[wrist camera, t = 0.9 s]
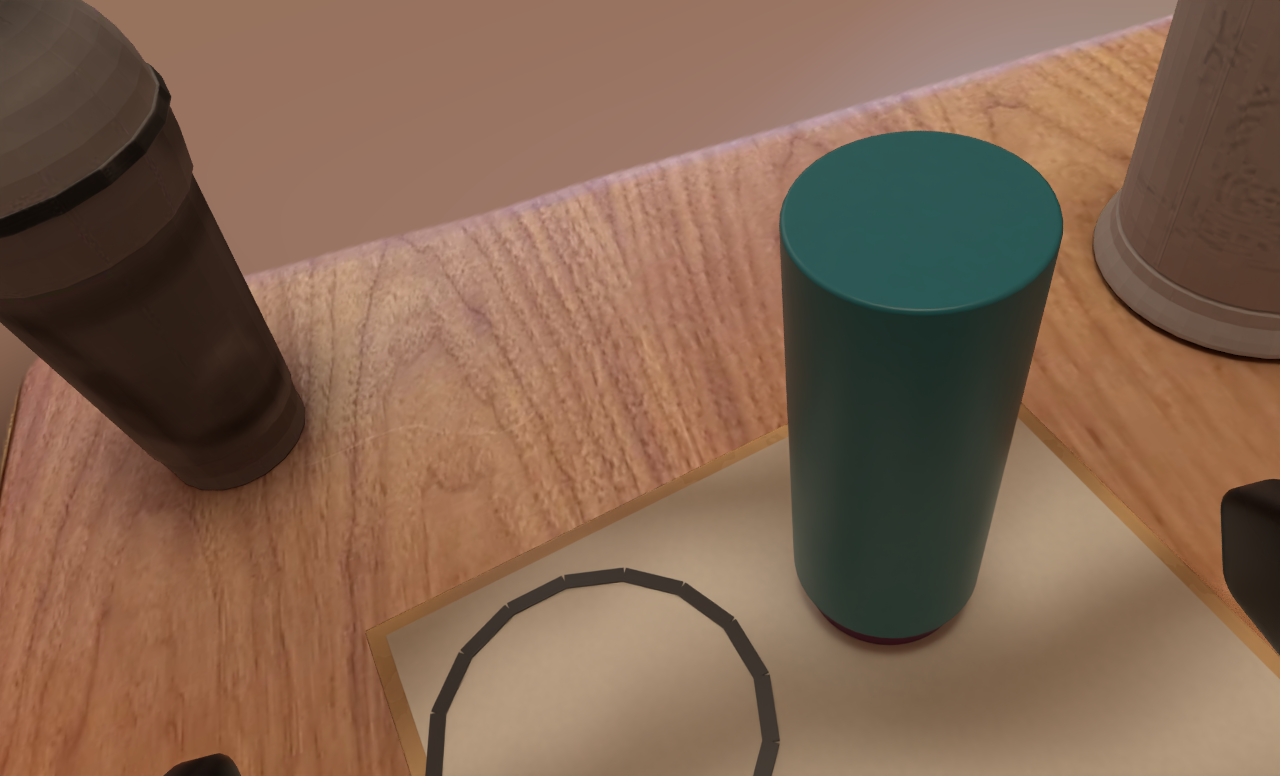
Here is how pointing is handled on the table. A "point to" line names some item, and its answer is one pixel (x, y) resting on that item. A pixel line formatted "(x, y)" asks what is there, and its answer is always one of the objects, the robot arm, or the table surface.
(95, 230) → the beverage cup
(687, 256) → the table surface
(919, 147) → the cylinder
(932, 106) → the table surface
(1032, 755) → the drawing board
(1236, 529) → the robot arm
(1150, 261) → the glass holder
